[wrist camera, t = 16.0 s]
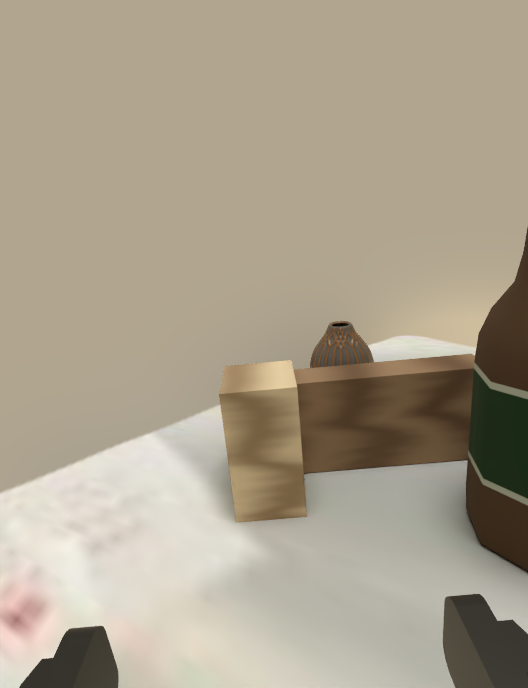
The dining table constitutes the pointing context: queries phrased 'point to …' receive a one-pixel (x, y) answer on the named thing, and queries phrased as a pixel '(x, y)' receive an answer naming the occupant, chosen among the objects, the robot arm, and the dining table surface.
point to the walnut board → (385, 413)
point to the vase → (340, 347)
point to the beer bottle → (501, 426)
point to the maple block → (263, 440)
